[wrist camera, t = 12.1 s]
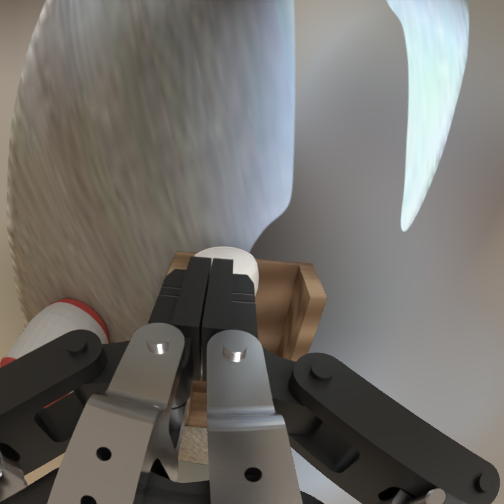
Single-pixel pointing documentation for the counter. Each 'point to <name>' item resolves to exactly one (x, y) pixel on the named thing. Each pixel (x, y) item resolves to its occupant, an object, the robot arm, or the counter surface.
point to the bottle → (235, 261)
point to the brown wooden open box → (272, 317)
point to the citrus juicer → (56, 327)
